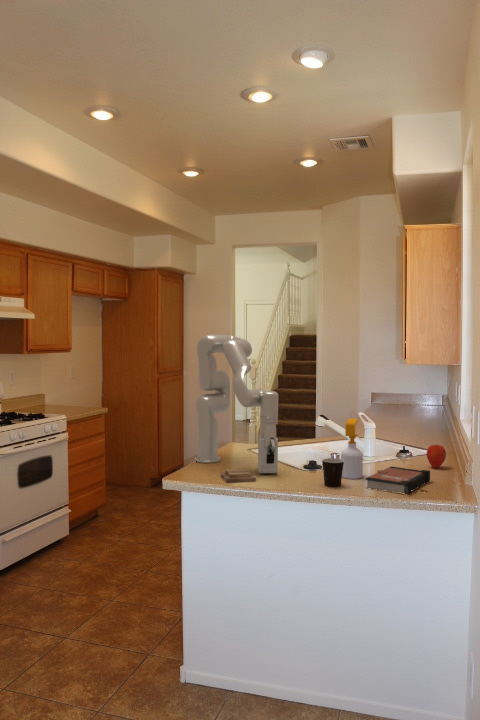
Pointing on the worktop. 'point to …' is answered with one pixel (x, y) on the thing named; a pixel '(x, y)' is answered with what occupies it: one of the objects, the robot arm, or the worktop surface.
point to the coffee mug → (332, 472)
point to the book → (398, 479)
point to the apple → (436, 455)
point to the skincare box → (262, 458)
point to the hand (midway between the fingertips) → (267, 461)
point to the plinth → (232, 480)
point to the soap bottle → (352, 454)
